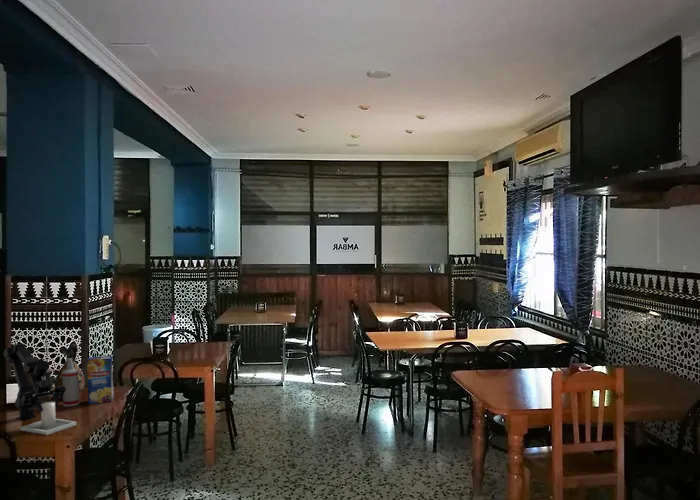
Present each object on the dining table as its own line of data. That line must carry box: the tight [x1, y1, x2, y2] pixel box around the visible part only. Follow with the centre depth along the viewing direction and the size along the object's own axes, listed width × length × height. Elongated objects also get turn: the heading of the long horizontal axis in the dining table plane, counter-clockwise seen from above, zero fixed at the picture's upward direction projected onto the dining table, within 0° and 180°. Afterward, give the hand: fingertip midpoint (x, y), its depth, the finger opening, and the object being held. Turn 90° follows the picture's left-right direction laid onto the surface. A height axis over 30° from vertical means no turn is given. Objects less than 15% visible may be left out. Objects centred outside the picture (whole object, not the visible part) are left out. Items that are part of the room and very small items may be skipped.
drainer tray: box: [19, 418, 77, 436], centre depth 279 cm, size 18×16×2 cm
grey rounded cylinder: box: [40, 401, 57, 428], centre depth 279 cm, size 6×6×11 cm
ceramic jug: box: [54, 343, 86, 400], centre depth 335 cm, size 17×15×30 cm
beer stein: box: [25, 371, 53, 409], centre depth 319 cm, size 15×11×20 cm
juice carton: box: [86, 355, 114, 405], centre depth 325 cm, size 12×8×24 cm, turn 105°
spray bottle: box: [62, 358, 80, 407], centre depth 319 cm, size 8×8×25 cm
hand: (49, 409), depth 278 cm, fingers open, 7 cm apart
